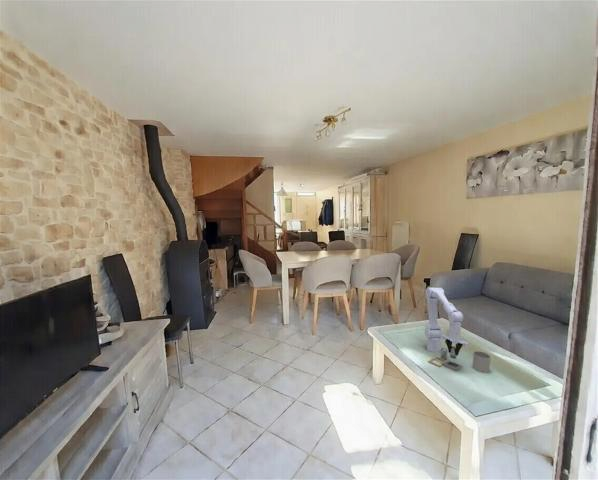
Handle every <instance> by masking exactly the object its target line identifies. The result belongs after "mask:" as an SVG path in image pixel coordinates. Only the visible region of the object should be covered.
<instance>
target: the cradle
mask: <svg viewBox="0 0 598 480" xmlns="http://www.w3.org/2000/svg"><path fill="white" fill-rule="evenodd" d="M443 367H444V368H446V369H449V370H451V371H454V372H458V371H459V370H460V369H462V368H463V367H464V366H463V365H461V364H459V363H457V362H454V361H452V360H448V361H447V362H446V363H445V364H444V365H443Z"/></svg>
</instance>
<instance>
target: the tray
mask: <svg viewBox="0 0 598 480" xmlns="http://www.w3.org/2000/svg"><path fill="white" fill-rule="evenodd" d="M433 361H435V362H438V363H439V364H437V363H435V362H433ZM446 362H448V361H447V360H444V359H442V358H441V357H438V356H434V357H432V358H431V359H429V360H427V363H429V364H430V365H433V366H435V367H438V368H441V367H442V366H444V364H445V363H446Z"/></svg>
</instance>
